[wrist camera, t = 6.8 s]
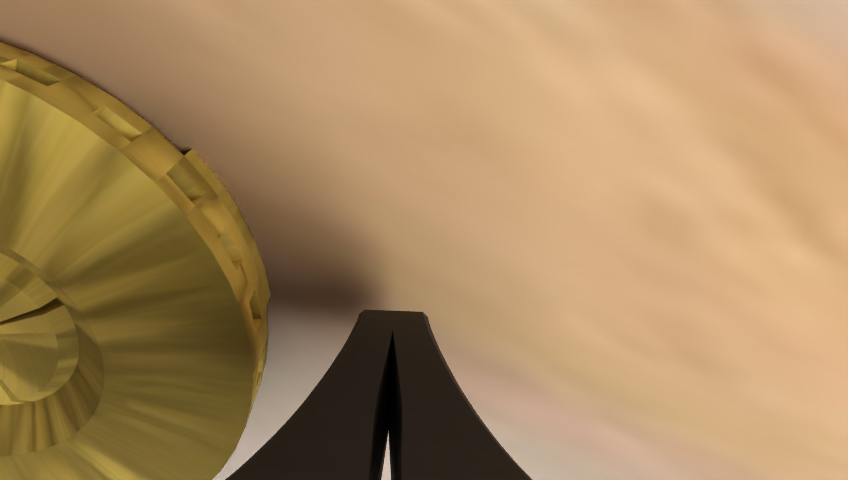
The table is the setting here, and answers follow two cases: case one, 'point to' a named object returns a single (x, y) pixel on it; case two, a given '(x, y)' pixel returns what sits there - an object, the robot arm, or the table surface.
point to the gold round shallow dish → (117, 291)
